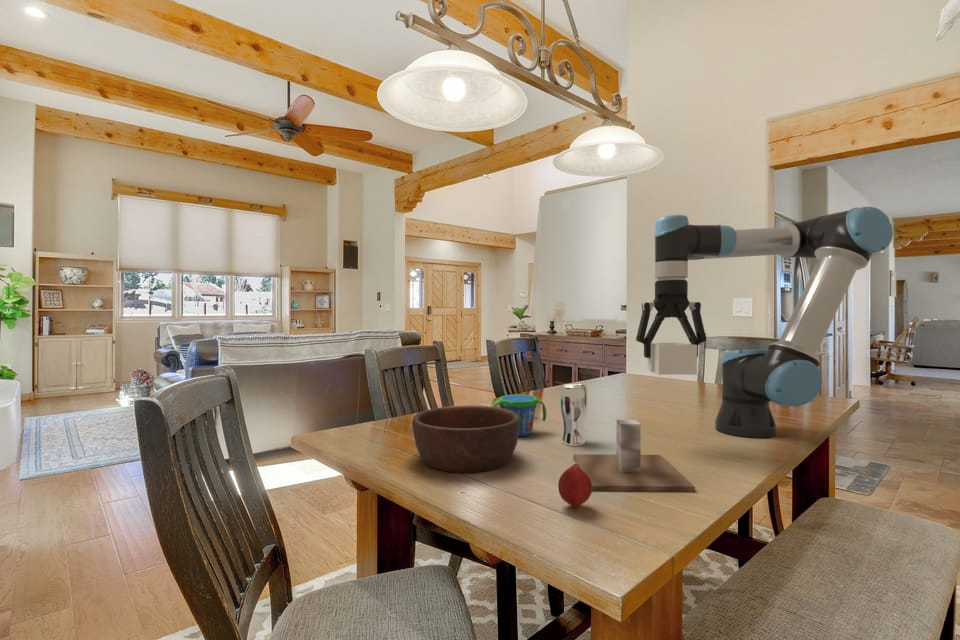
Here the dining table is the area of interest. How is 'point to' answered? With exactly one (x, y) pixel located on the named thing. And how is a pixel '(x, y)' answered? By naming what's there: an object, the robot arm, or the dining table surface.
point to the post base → (632, 480)
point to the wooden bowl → (466, 437)
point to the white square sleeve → (674, 358)
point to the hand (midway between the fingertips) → (670, 371)
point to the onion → (575, 486)
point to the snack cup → (522, 410)
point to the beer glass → (573, 413)
